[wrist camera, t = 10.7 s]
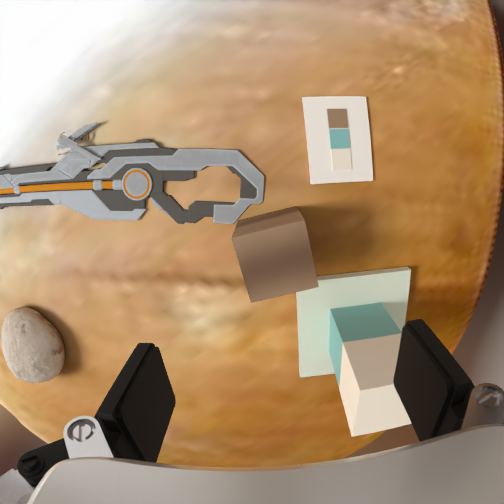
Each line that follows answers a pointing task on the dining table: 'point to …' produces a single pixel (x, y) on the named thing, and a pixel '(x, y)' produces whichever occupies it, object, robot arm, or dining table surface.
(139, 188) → the gun
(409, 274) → the baseplate
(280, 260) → the walnut brick
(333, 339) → the teal brick
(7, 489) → the robot arm
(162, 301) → the dining table surface
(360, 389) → the cream brick
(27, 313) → the stone
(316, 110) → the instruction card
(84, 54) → the dining table surface
